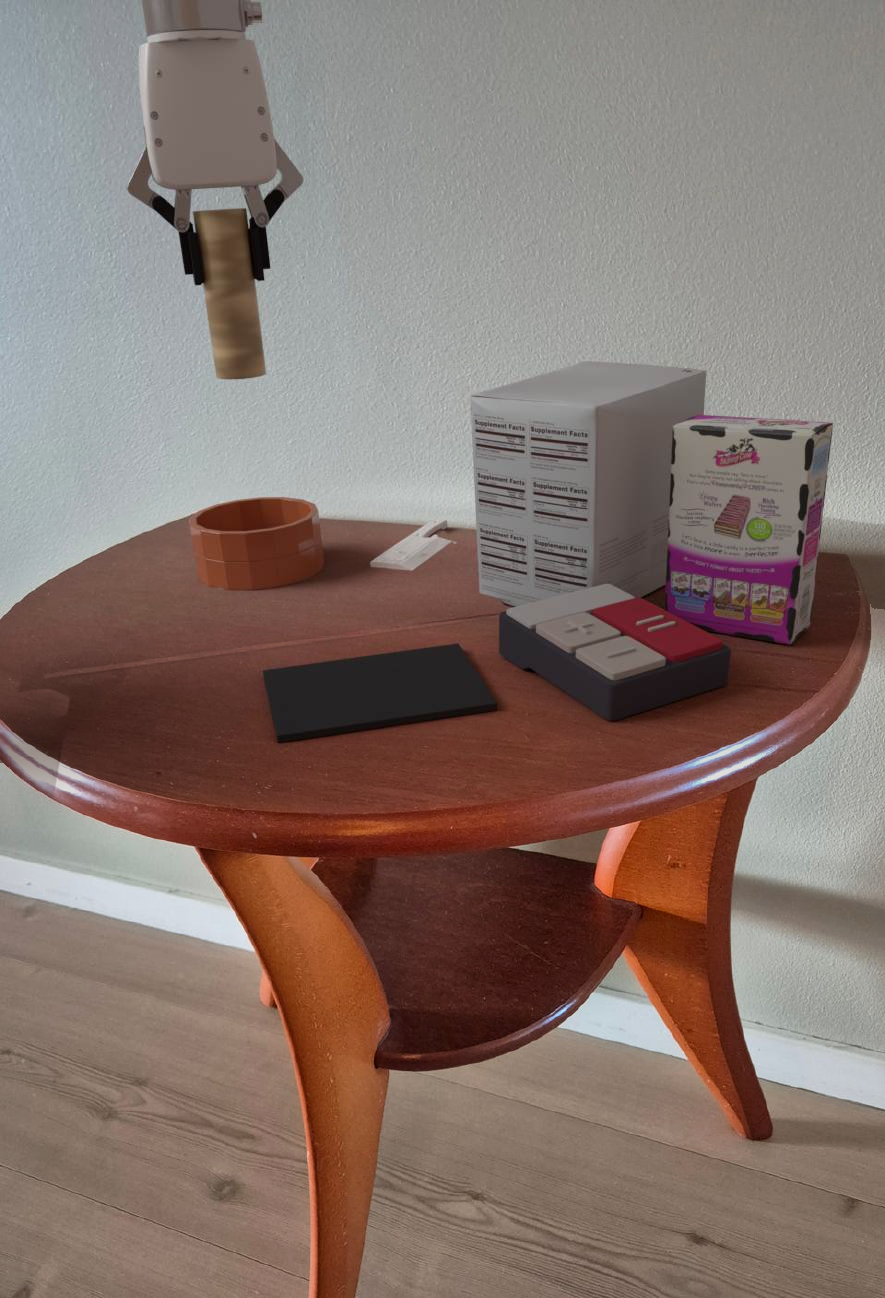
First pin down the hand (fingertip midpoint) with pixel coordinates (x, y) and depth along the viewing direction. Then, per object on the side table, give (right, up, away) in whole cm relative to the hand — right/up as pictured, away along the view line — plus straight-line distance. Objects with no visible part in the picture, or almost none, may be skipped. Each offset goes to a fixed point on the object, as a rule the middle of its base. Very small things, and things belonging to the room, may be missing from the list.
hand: (228, 279), depth 93 cm
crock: (0, -22, +16) cm, 27 cm away
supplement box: (+32, -25, +8) cm, 41 cm away
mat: (+13, -36, -10) cm, 40 cm away
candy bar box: (+43, -30, -2) cm, 52 cm away
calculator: (+31, -34, -9) cm, 47 cm away
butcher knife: (+16, -19, +20) cm, 32 cm away
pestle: (0, -7, +4) cm, 8 cm away
